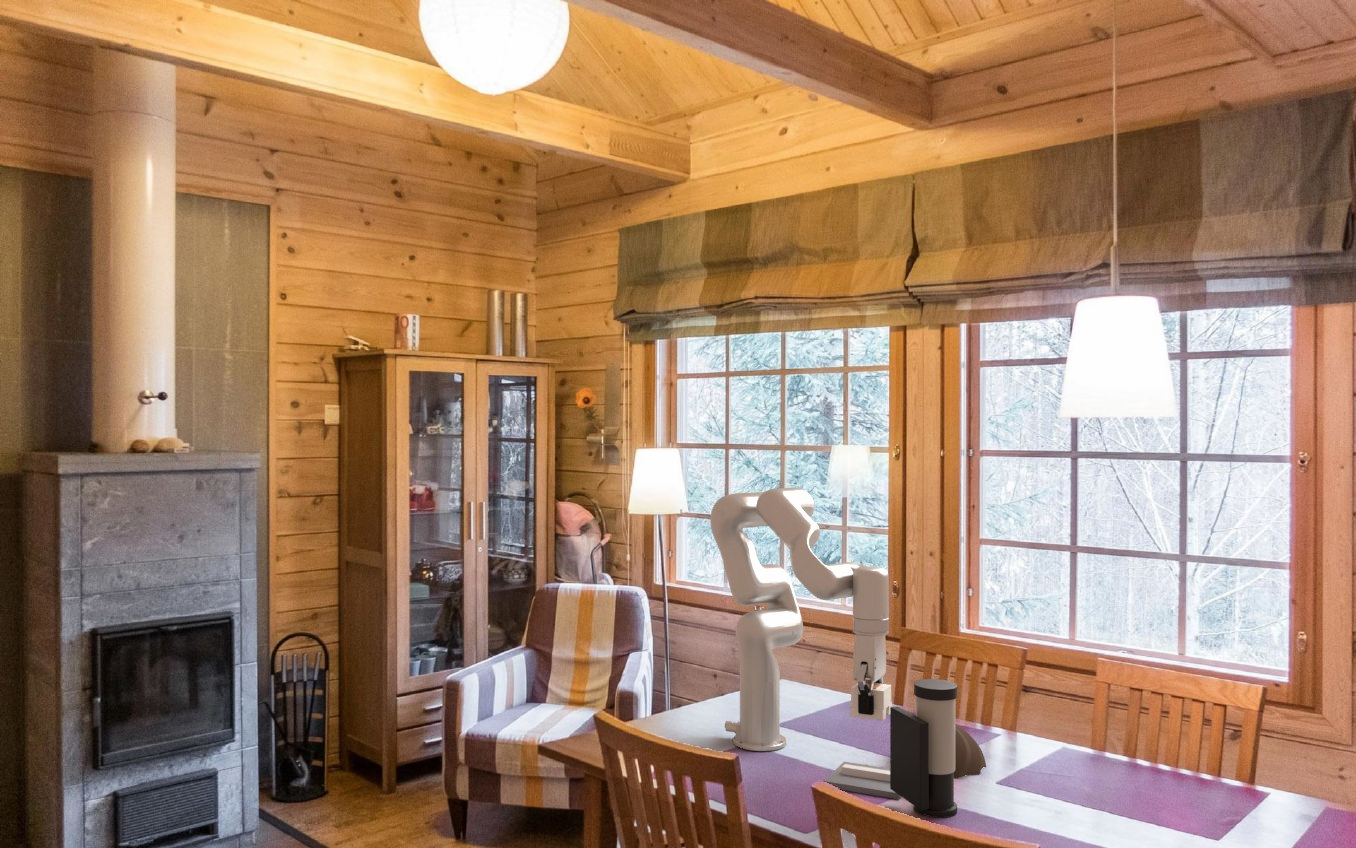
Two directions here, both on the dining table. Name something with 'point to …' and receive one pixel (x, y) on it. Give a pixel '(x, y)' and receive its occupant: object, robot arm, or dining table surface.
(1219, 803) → the dining table surface
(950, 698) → the light fixture
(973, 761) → the decorative dome
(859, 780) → the rail board
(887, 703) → the block
